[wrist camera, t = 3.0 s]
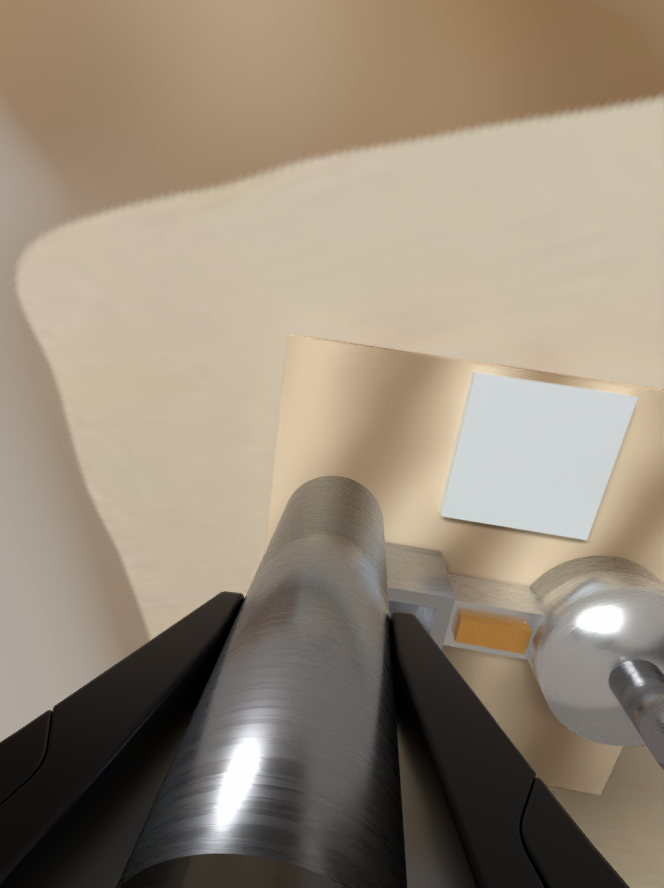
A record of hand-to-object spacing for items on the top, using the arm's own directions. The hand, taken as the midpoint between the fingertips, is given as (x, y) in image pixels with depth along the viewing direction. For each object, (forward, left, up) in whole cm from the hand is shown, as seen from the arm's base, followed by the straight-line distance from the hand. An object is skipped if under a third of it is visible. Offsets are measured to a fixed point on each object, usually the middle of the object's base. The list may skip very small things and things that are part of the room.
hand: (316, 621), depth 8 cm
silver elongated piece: (-8, +7, -11) cm, 16 cm away
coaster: (-8, -1, -11) cm, 14 cm away
